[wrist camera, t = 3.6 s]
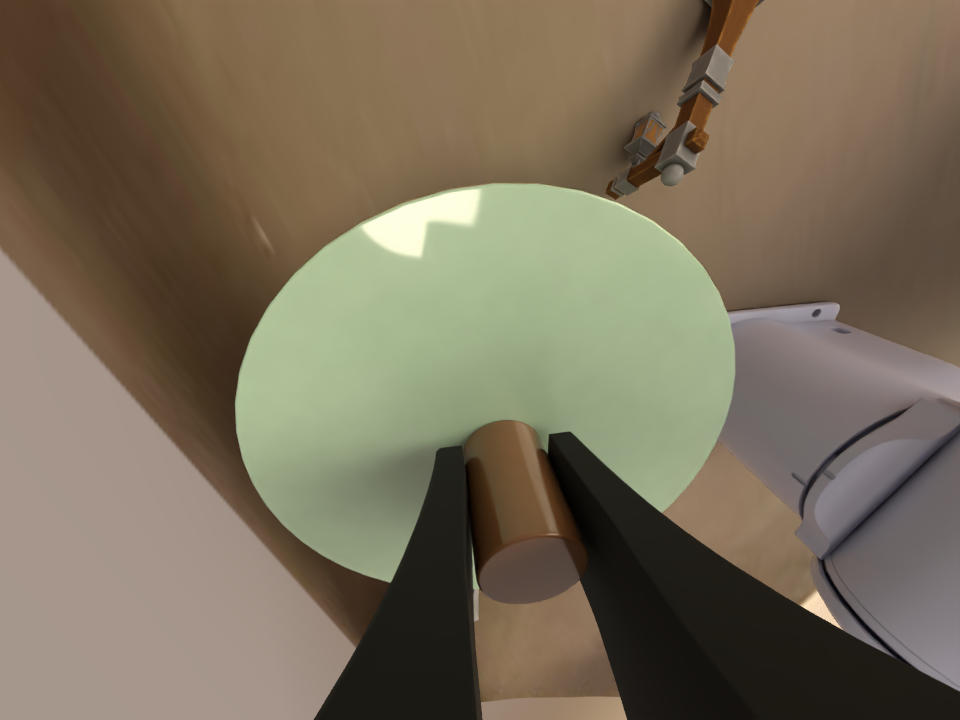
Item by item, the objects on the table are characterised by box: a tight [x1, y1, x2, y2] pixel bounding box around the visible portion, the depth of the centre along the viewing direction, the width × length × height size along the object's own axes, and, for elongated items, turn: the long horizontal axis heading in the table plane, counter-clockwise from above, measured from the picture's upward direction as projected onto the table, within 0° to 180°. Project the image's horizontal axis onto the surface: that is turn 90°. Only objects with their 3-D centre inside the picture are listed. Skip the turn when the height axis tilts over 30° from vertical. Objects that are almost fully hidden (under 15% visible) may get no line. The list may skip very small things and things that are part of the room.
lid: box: [235, 183, 735, 604], centre depth 9 cm, size 14×14×5 cm
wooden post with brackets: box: [605, 0, 764, 200], centre depth 14 cm, size 2×8×4 cm, turn 152°
